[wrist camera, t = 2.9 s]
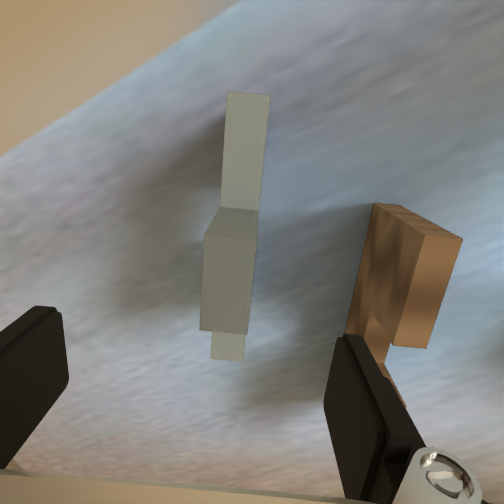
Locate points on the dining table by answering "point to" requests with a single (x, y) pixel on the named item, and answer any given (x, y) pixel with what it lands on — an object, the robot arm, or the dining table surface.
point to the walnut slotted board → (400, 281)
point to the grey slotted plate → (241, 180)
